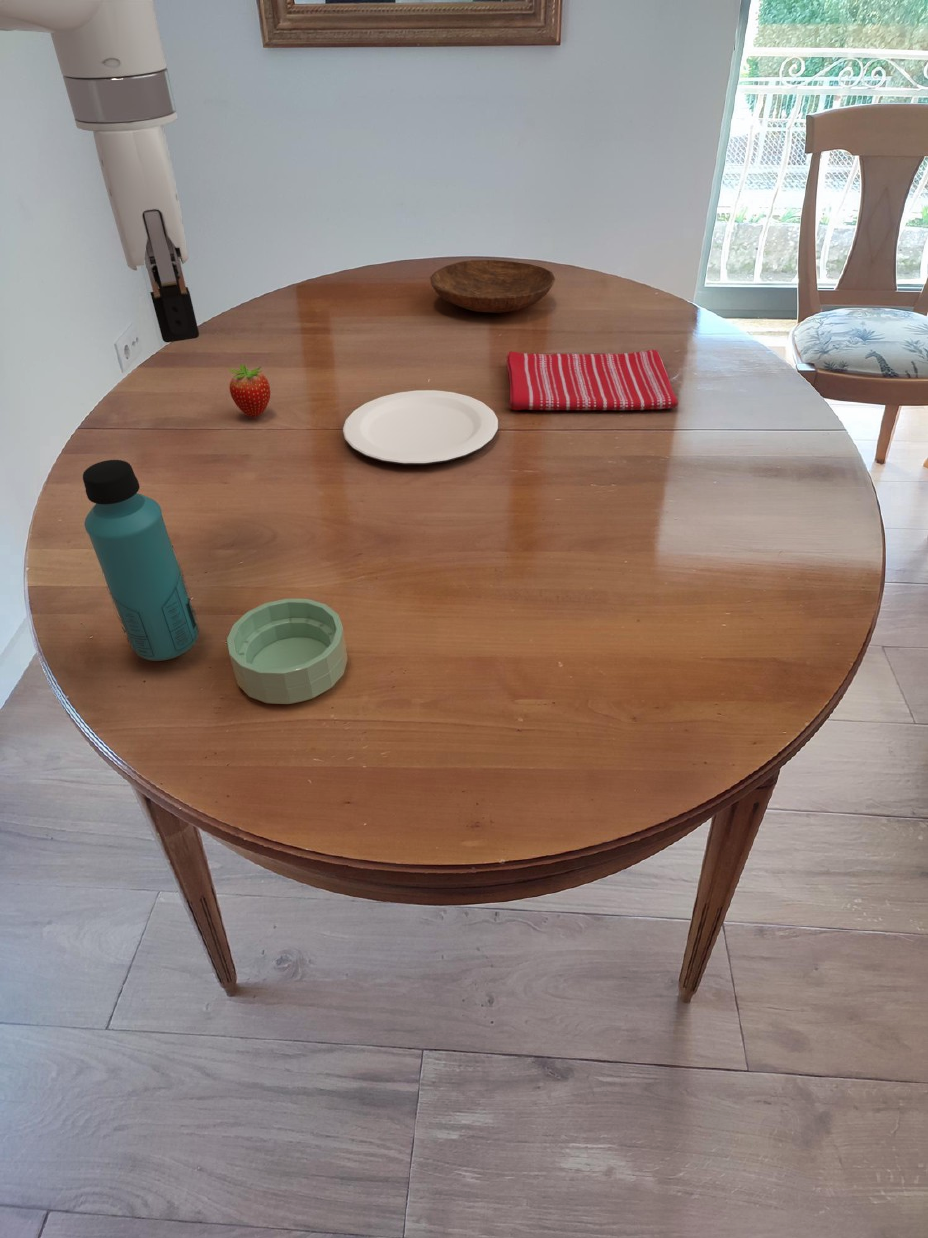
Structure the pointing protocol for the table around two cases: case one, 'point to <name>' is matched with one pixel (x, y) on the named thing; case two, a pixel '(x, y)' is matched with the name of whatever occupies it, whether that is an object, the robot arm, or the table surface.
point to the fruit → (250, 391)
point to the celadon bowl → (287, 650)
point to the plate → (420, 427)
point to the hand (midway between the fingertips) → (180, 336)
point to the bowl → (492, 285)
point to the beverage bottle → (138, 563)
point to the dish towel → (589, 381)
